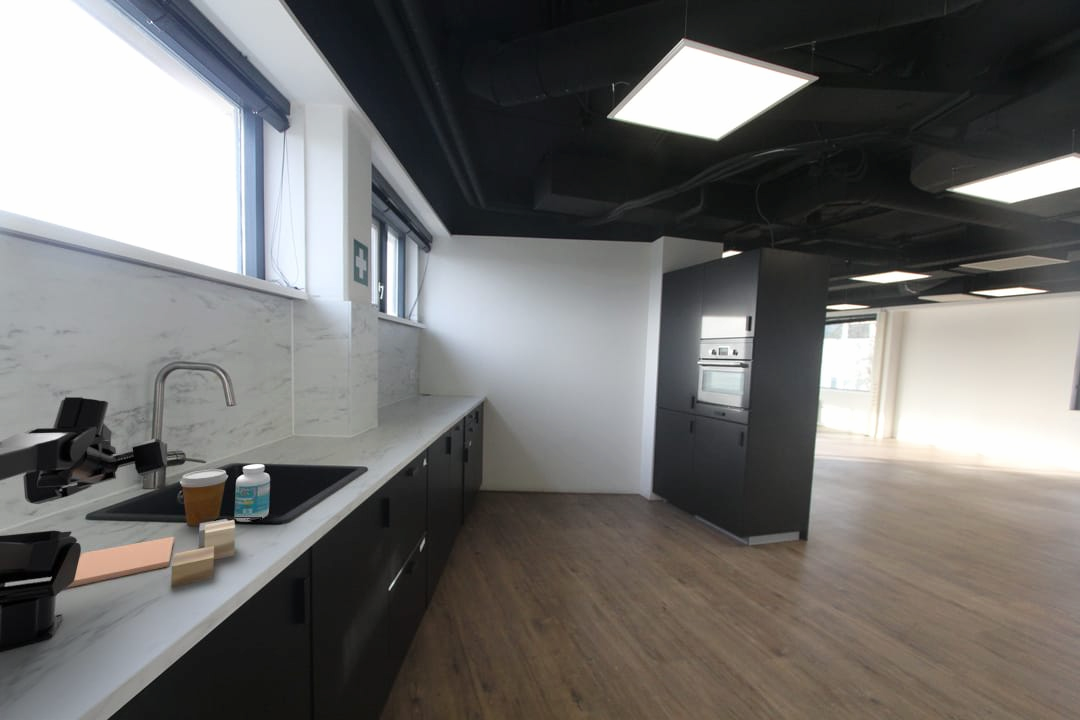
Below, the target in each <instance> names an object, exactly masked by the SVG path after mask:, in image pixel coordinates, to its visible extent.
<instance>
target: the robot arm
mask: <svg viewBox="0 0 1080 720" xmlns="http://www.w3.org/2000/svg"><path fill="white" fill-rule="evenodd" d="M108 407H109V402H108V401H106V400H97V399H94V398H93V399H91V398H85V397H82V396H66V397H64V399H62V400H60V405H59V407H58V411H57V414H56V416H55V420H54V424H53V427H42V428H41V427H37V428H36V427H35V428H34V427H33V428H31V429H29V430H27V431H26V432H24V433H16V434H15V435H12V436H10V437H8V438H5V439H3V440H1V441H0V482H1V481H4V480H7V479H10V478H13V477H17V476H19V475H22V474H24V475H23V489H24V491H23V492H24V499H25V500H26V501H27V502H28V503H30V504H35V505H40V504H44V503H48V502H52V501H53V502H54V501H57V500H60V499H63V498H67V497H69V496H72V495H75V494H77V493H80V492H82V491H84V490H86V489H89V488H92V486H93V485H96V484H100V483H104V482H107V481H112V480H115V479H117V476H116V472H117V471H118V469H120V468H123V467H127V466H131V465H134V466H135V470H136V471H137V472H136V473H137V474H138V475H140V476H146V475H149V474H153V473H157V472H160V471H163V470H165V469H166V468H167V467H168V462H167V455H166V450H165V444H164V441H162V440H160V439H159V438H152V439H148V440H147V439H146V440H144V441H140V442H136V443H133V444H132V447H131V448H132V451H128V452H125V453H121V454H117V449H116V446H113V445H112V434H113V433H112V430H111V429H110V428H109V427H108V426H107V425H106V424H105V423H104V421H105V418H106V414H107V410H108ZM116 454H117V455H116ZM71 534H72V531H69V530H68V531H59V530H47V531H46V530H45V531H43V530H42V531H36V532H35V531H34V532H26V533H24V532H23V533H14V534H6V535H5V534H3V535H0V652H1V651H6V650H10V649H13V648H17V647H18V648H19V647H22V646H26V645H29V644H33V643H36V642H40V641H44V640H48V639H50V638H52V637H53V635H54V634H55V632H56V631H57V628H58V627H59V626H60V623H61V622H62V620H63V618H64V614H63V613H59V614H58V613H57V614H56V597H57V596H58V594H60V593H61V592H62V591H64V590H65V589H67V588H66V587H67V586H69V585H70V584H71V583H72V582H74V579H75V575H76V571H77V566H78V562H79V558H80V557H81V553H82V546H81V544H80V542H78V539H77V538H76V537H75V536H72V535H71ZM45 578H46V579H47V578H50V579H49V580H43V581H36V582H35V581H33V582H27V583H21V584H12V585H6V584H7V583H8V584H9V583H15V582H25V581H31V580H40V579H45Z"/></svg>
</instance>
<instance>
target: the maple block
mask: <svg viewBox="0 0 1080 720" xmlns="http://www.w3.org/2000/svg"><path fill="white" fill-rule="evenodd" d="M235 524H236V523H235V519H232V520H227V521H225V522H219V523H213V524H207V525H205V544H204V548H206V547H211V546H214V560H219V559H224V558H228V557H233V556H235V543H236V542H235V539H236V525H235Z"/></svg>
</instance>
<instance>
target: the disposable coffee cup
mask: <svg viewBox="0 0 1080 720" xmlns="http://www.w3.org/2000/svg"><path fill="white" fill-rule="evenodd" d="M181 477H182V478H181V480H180V481H179V484H180V486H181V487H182V494H183V495H182V497H183V503H184V510H185V517H186V524H187V525H188V526H200V523H206V522H211V521H214V519H218V518H200V517H219V518H220V511H221V508H222V502H223V496H224V491H225V486H226V481H227V479H228V477H229V475H227V471H226V470H223V469H204V470H197V471H192V472H189V473H185V474H184V475H182V476H181ZM218 520H219V519H218Z"/></svg>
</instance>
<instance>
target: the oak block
mask: <svg viewBox="0 0 1080 720" xmlns="http://www.w3.org/2000/svg"><path fill="white" fill-rule="evenodd" d="M211 578H214V546H211V547H206V548H196V549H192V550H186V551H181V552H177V553H176V552H175V553H174V556H173V560H172V564H171V579H170V581H171V583H170V587H171V588H174V587H178V586H182V585H185V584H190V583H195V582H198V581H203V580H204V581H205V580H208V579H211Z"/></svg>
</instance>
